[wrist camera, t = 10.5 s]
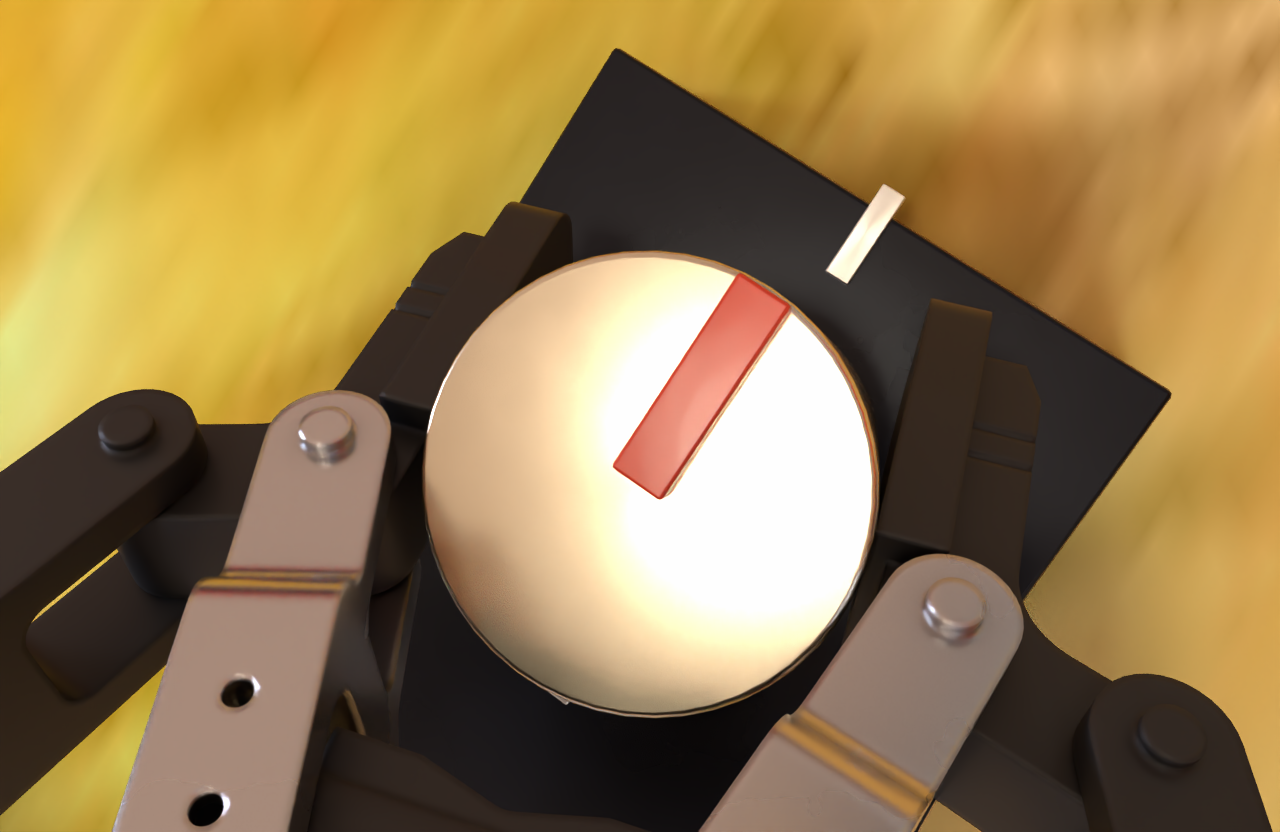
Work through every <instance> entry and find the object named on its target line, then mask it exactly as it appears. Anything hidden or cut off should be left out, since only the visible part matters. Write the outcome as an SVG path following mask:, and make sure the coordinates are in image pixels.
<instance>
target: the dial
mask: <svg viewBox="0 0 1280 832" xmlns="http://www.w3.org/2000/svg"><path fill="white" fill-rule="evenodd" d="M421 497H422V504H423V512H424V520H425V527H426V530H427V534H428V538H429V542H430V546H431V550H432V554H433V556H434V559H435V562H436V564H437V567H438V569H439V572H440V574H441V577H442V579H443V582H444V584H445V585H446V587H447V589H448V591H449V593H450V595H451V597H452V598H453V600H454V602H455V604H456V606H457V607H458V609H459V610H460V612H461V613H462V615H463V616H464V617H465V619H466V620H467V622H468V623H469V624H470V626H471V627H472V629H473V630H474V631H475V632H476V633H477V635H478V636H479V637H480V638H481V639H482V640H483V641H484V642H485V643H486V644H487V645H488V647H489V648H490V649H491V650H492V651H493V652H494V653H495V654H496V655H497V656H499V657H500V658H501V659H502V660H503V661H504V662H506V663H507V664H508V665H509V666H510V667H512V668H513V669H514V670H515V671H516V672H518V673H519V674H521V675H522V676H524V677H525V678H527V679H528V680H530V681H531V682H533V683H534V684H536V685H537V686H539V687H541V688H542V689H544V690H546V691H548V692H550V693H552V694H555V695H557V696H559V697H561V698H563V699H565V700H567V701H569V702H572V703H575V704H578V705H581V706H584V707H587V708H590V709H593V710H596V711H601V712H606V713H611V714H616V715H621V716H627V717H643V718H666V717H680V716H689V715H693V714H698V713H703V712H708V711H712V710H716V709H719V708H722V707H725V706H728V705H730V704H733V703H736V702H739V701H742V700H744V699H746V698H748V697H750V696H752V695H754V694H756V693H758V692H760V691H762V690H764V689H765V688H767V687H769V686H771V685H773V684H774V683H775V682H777V681H778V680H780V679H781V678H782V677H784V676H785V675H787V674H788V673H790V672H791V671H792V670H794V669H795V668H796V667H797V666H799V665H800V664H801V663H802V662H803V661H804V660H805V659H806V658H807V657H808V656H809V655H810V654H811V653H812V652H814V651H815V650H816V649H817V648H818V647H819V646H820V644H821V643H822V642H823V641H824V639H825V638H826V637H827V636H828V634H829V633H830V632H831V631H832V630H833V628H834V627H835V626H836V625H837V623H838V622H839V620H840V619H841V617H842V615H843V614H844V612H845V610H846V609H847V607H848V605H849V604H850V602H851V600H852V599H853V597H854V595H855V593H856V591H857V588H858V586H859V584H860V581H861V579H862V577H863V574H864V572H865V570H866V568H867V564H868V561H869V557H870V553H871V550H872V546H873V543H874V539H875V534H876V527H877V520H878V513H879V506H880V442H879V435H878V427H877V421H876V418H875V414H874V410H873V407H872V403H871V401H870V398H869V396H868V393H867V391H866V389H865V386H864V384H863V382H862V380H861V379H860V377H859V375H858V373H857V372H856V370H855V368H854V367H853V365H852V364H851V362H850V361H849V360H848V359H847V357H846V356H845V355H844V353H843V352H842V351H841V350H840V348H839V347H838V346H837V345H836V344H834V343H833V342H832V341H831V340H830V339H829V338H828V337H827V336H826V335H825V334H824V333H823V332H822V331H821V330H820V329H819V328H818V327H817V326H816V325H815V324H814V323H813V322H812V321H811V320H810V319H809V318H808V317H807V316H806V315H805V314H804V313H803V312H802V311H801V310H800V309H799V308H798V307H797V306H796V305H794V304H793V303H792V302H790V301H789V300H788V299H786V298H785V297H784V296H782V295H781V294H780V293H778V292H777V291H776V290H774V289H773V288H772V287H770V286H768V285H766V284H765V283H763V282H761V281H759V280H757V279H756V278H754V277H752V276H750V275H748V274H747V273H745V272H742V271H740V270H737V269H735V268H732V267H730V266H727V265H725V264H722V263H720V262H717V261H714V260H710V259H706V258H702V257H698V256H694V255H690V254H685V253H676V252H667V251H658V250H648V251H623V252H617V253H611V254H604V255H598V256H594V257H591V258H587V259H584V260H581V261H577V262H574V263H571V264H568V265H565V266H563V267H561V268H559V269H557V270H554V271H552V272H550V273H548V274H546V275H543V276H541V277H539V278H538V279H536V280H535V281H533V282H531V283H530V284H528V285H527V286H525V287H523V288H522V289H520V290H519V291H517V292H516V293H514V294H513V295H512V296H511V297H509V298H508V299H507V300H506V301H505V302H503V303H502V304H501V305H500V306H499V307H497V308H496V309H495V310H494V311H493V312H492V313H491V314H490V315H489V316H488V317H487V318H486V319H485V320H484V321H483V322H482V323H481V325H480V326H479V327H478V328H477V329H476V330H475V331H474V332H473V333H472V335H471V336H470V338H469V339H468V340H467V342H466V343H465V345H464V346H463V347H462V349H461V350H460V352H459V353H458V354H457V356H456V357H455V359H454V361H453V363H452V365H451V367H450V369H449V370H448V372H447V374H446V376H445V378H444V380H443V382H442V384H441V387H440V389H439V392H438V394H437V397H436V400H435V402H434V405H433V407H432V411H431V415H430V419H429V423H428V427H427V431H426V435H425V440H424V449H423V457H422V465H421Z"/></svg>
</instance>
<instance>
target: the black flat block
mask: <svg viewBox="0 0 1280 832" xmlns="http://www.w3.org/2000/svg"><path fill="white" fill-rule="evenodd" d="M905 198H906V197H905V196H904V195H902V194H900V193H899V192H897V191H896V190H894V189H892V188H891V187H889V186H887V185H886V184H883V185H882V186H881V188H880V189H879V191H878V192H877V194H876V195H875V197H874V198H873V200H872V201H871V203H870V204H869V203H868V202H866V201H864V200H863V199H861V198H859V197H858V196H856V195H855V194H853V193H851V192H850V191H848V190H847V189H845V188H843V187H842V186H840V185H839V184H837V183H835V182H834V181H832V180H831V179H829V178H827V177H826V176H824V175H822V174H821V173H819V172H818V171H816V170H814V169H813V168H811V167H810V166H808V165H806V164H805V163H803V162H802V161H800V160H798V159H797V158H795V157H793V156H792V155H790V154H789V153H787V152H785V151H784V150H782V149H781V148H779V147H777V146H776V145H774V144H773V143H771V142H769V141H768V140H766V139H765V138H763V137H761V136H760V135H758V134H756V133H755V132H753V131H752V130H750V129H748V128H747V127H745V126H744V125H742V124H740V123H739V122H737V121H736V120H734V119H732V118H731V117H729V116H728V115H726V114H724V113H723V112H721V111H719V110H718V109H716V108H715V107H713V106H711V105H710V104H708V103H707V102H705V101H703V100H702V99H700V98H699V97H697V96H695V95H694V94H692V93H690V92H689V91H687V90H686V89H684V88H682V87H681V86H679V85H678V84H676V83H674V82H673V81H671V80H670V79H668V78H666V77H665V76H663V75H662V74H660V73H658V72H657V71H655V70H653V69H652V68H650V67H649V66H647V65H645V64H644V63H642V62H641V61H639V60H637V59H636V58H634V57H633V56H631V55H629V54H628V53H626V52H624V51H623V50H621V49H618V48H615V49H614V50H613V51H612V53H611V55H610V56H609V58H608V59H607V61H606V63H605V64H604V66H603V68H602V69H601V71H600V73H599V74H598V76H597V77H596V79H595V81H594V82H593V84H592V86H591V87H590V89H589V90H588V92H587V94H586V95H585V97H584V99H583V100H582V102H581V103H580V105H579V107H578V108H577V110H576V112H575V113H574V115H573V116H572V118H571V120H570V121H569V123H568V125H567V126H566V128H565V129H564V131H563V133H562V134H561V136H560V138H559V139H558V141H557V142H556V144H555V146H554V147H553V149H552V151H551V152H550V154H549V155H548V157H547V159H546V160H545V162H544V164H543V165H542V167H541V168H540V170H539V172H538V173H537V175H536V177H535V178H534V180H533V182H532V183H531V185H530V186H529V188H528V190H527V191H526V193H525V195H524V196H523V198H522V199H521V201H520V203H522V204H526V205H531V206H535V207H539V208H544V209H548V210H552V211H557V212H561V213H566V214H568V215H569V217H570V219H571V223H572V239H573V263H574V262H577V261H581V260H584V259H587V258H591V257H594V256H598V255H604V254H611V253H617V252H623V251H648V250H658V251H667V252H676V253H685V254H690V255H694V256H698V257H702V258H706V259H710V260H714V261H717V262H720V263H722V264H725V265H727V266H730V267H732V268H735V269H737V270H740V271H742V272H745V273H747V274H748V275H750V276H752V277H754V278H756V279H757V280H759V281H761V282H763V283H765V284H766V285H768V286H770V287H772V288H773V289H774V290H776V291H777V292H778V293H780V294H781V295H782V296H784V297H785V298H786V299H788V300H789V301H790V302H792V303H793V304H794V305H796V306H797V307H798V308H799V309H800V310H801V311H802V312H803V313H804V314H805V315H806V316H807V317H808V318H809V319H810V320H811V321H812V322H813V323H814V324H815V325H816V326H817V327H818V328H819V329H820V330H821V331H822V332H823V333H824V334H825V335H826V336H827V337H828V338H829V339H830V340H831V341H832V342H833V343H834V344H836V345H837V346H838V347H839V348H840V350H841V351H842V352H843V353H844V355H845V356H846V357H847V359H848V360H849V361H850V362H851V364H852V365H853V367H854V368H855V370H856V372H857V373H858V375H859V377H860V379H861V380H862V382H863V384H864V386H865V389H866V391H867V393H868V396H869V398H870V401H871V403H872V407H873V410H874V414H875V418H876V421H877V427H878V435H879V442H880V484H881V480H882V476H883V472H884V467H885V463H886V459H887V455H888V451H889V447H890V443H891V439H892V435H893V431H894V427H895V423H896V419H897V415H898V411H899V407H900V404H901V400H902V396H903V393H904V389H905V386H906V382H907V379H908V375H909V372H910V368H911V365H912V361H913V358H914V354H915V351H916V347H917V344H918V340H919V337H920V333H921V330H922V326H923V323H924V319H925V316H926V312H927V309H928V305H929V302H930V299H931V298H933V299H938V300H942V301H947V302H951V303H955V304H960V305H964V306H968V307H973V308H977V309H982V310H986V311H990V312H992V321H991V327H990V332H989V338H988V343H987V349H986V355H985V356H987V357H991V358H996V359H1000V360H1004V361H1008V362H1013V363H1017V364H1021V365H1025V366H1027V368H1028V370H1029V373H1030V375H1031V378H1032V380H1033V383H1034V385H1035V388H1036V390H1037V393H1038V395H1039V398H1040V400H1041V407H1040V415H1039V423H1038V431H1037V438H1036V441H1035V444H1036V446H1035V454H1034V462H1033V467H1032V471H1031V473H1032V477H1031V485H1030V493H1029V501H1028V509H1027V516H1026V524H1025V532H1024V540H1023V548H1022V555H1021V563H1020V571H1019V588H1020V594H1021V598H1022V601H1024V600H1025V598H1026V597H1027V595H1028V594H1029V593H1030V591H1031V590H1032V589H1033V587H1034V586H1035V584H1036V583H1037V582H1038V580H1039V579H1040V578H1041V576H1042V575H1043V573H1044V572H1045V571H1046V569H1047V568H1048V567H1049V565H1050V564H1051V562H1052V561H1053V560H1054V558H1055V557H1056V555H1057V554H1058V553H1059V551H1060V550H1061V549H1062V547H1063V546H1064V544H1065V543H1066V542H1067V540H1068V539H1069V538H1070V536H1071V535H1072V533H1073V532H1074V531H1075V529H1076V528H1077V527H1078V525H1079V524H1080V522H1081V521H1082V520H1083V518H1084V517H1085V515H1086V514H1087V513H1088V511H1089V510H1090V509H1091V507H1092V506H1093V504H1094V503H1095V502H1096V500H1097V499H1098V498H1099V496H1100V495H1101V493H1102V492H1103V491H1104V489H1105V488H1106V487H1107V485H1108V484H1109V482H1110V481H1111V480H1112V478H1113V477H1114V476H1115V474H1116V473H1117V471H1118V470H1119V469H1120V467H1121V466H1122V464H1123V463H1124V462H1125V460H1126V459H1127V458H1128V456H1129V455H1130V453H1131V452H1132V451H1133V449H1134V448H1135V447H1136V445H1137V444H1138V442H1139V441H1140V440H1141V438H1142V437H1143V436H1144V434H1145V433H1146V431H1147V430H1148V429H1149V427H1150V426H1151V424H1152V423H1153V422H1154V420H1155V419H1156V418H1157V416H1158V415H1159V413H1160V412H1161V411H1162V409H1163V408H1164V407H1165V405H1166V404H1167V402H1168V401H1169V400H1170V398H1171V394H1172V393H1171V392H1170V391H1169V389H1167V388H1165V387H1164V386H1162V385H1160V384H1159V383H1157V382H1156V381H1154V380H1152V379H1151V378H1149V377H1148V376H1146V375H1144V374H1143V373H1141V372H1140V371H1138V370H1136V369H1135V368H1133V367H1132V366H1130V365H1128V364H1127V363H1125V362H1123V361H1122V360H1120V359H1119V358H1117V357H1115V356H1114V355H1112V354H1111V353H1109V352H1107V351H1106V350H1104V349H1103V348H1101V347H1099V346H1098V345H1096V344H1094V343H1093V342H1091V341H1090V340H1088V339H1086V338H1085V337H1083V336H1082V335H1080V334H1078V333H1077V332H1075V331H1074V330H1072V329H1070V328H1069V327H1067V326H1066V325H1064V324H1062V323H1061V322H1059V321H1057V320H1056V319H1054V318H1053V317H1051V316H1049V315H1048V314H1046V313H1045V312H1043V311H1041V310H1040V309H1038V308H1037V307H1035V306H1033V305H1032V304H1030V303H1028V302H1027V301H1025V300H1024V299H1022V298H1020V297H1019V296H1017V295H1016V294H1014V293H1012V292H1011V291H1009V290H1008V289H1006V288H1004V287H1003V286H1001V285H1000V284H998V283H996V282H995V281H993V280H991V279H990V278H988V277H987V276H985V275H983V274H982V273H980V272H979V271H977V270H975V269H974V268H972V267H971V266H969V265H967V264H966V263H964V262H963V261H961V260H959V259H958V258H956V257H954V256H953V255H951V254H950V253H948V252H946V251H945V250H943V249H942V248H940V247H938V246H937V245H935V244H934V243H932V242H930V241H929V240H927V239H925V238H924V237H922V236H921V235H919V234H917V233H916V232H914V231H913V230H911V229H909V228H908V227H906V226H905V225H903V224H901V223H900V222H898V221H897V220H895V219H893V217H894V216H895V214H896V213H897V211H898V210H899V208H900V207H901V205H902V204H903V202H904V201H905ZM419 559H420V565H421V578H420V583H419V589H418V595H417V601H416V607H415V613H414V619H413V625H412V631H411V637H410V643H409V649H408V655H407V661H406V666H405V672H404V678H403V684H402V690H401V696H400V703H399V715H398V730H399V747H401V748H404V749H407V750H409V751H412V752H415V753H418V754H421V755H423V756H425V757H426V758H428V759H429V760H431V761H432V762H434V763H435V764H436V765H438V766H439V767H441V768H442V769H444V770H445V771H447V772H448V773H450V774H451V775H452V776H454V777H455V778H457V779H458V780H460V781H461V782H463V783H464V784H465V785H467V786H468V787H470V788H471V789H473V790H474V791H476V792H477V793H479V794H480V795H481V796H483V797H484V798H486V799H487V800H489V801H490V802H492V803H493V804H495V805H496V806H498V807H500V808H502V809H505V810H508V811H514V812H527V813H542V814H557V815H572V816H587V817H602V818H611V819H614V820H617V821H620V822H623V823H626V824H629V825H632V826H635V827H638V828H641V829H644V830H647V831H650V832H699V830H700V829H701V827H702V826H703V824H704V823H705V822H706V820H707V819H708V817H709V816H710V814H711V813H712V812H713V810H714V809H715V807H716V806H717V805H718V803H719V802H720V800H721V799H722V797H723V796H724V795H725V793H726V792H727V790H728V789H729V787H730V786H731V785H732V783H733V782H734V780H735V779H736V778H737V776H738V775H739V773H740V772H741V770H742V769H743V768H744V766H745V765H746V763H747V762H748V761H749V759H750V758H751V756H752V755H753V753H754V752H755V751H756V749H757V748H758V746H759V745H760V743H761V742H762V741H763V739H764V738H765V737H766V735H767V734H768V732H769V731H770V730H771V729H772V727H773V726H774V725H775V724H776V723H777V722H778V721H779V720H780V719H781V718H782V717H783V716H784V715H786V714H789V715H792V714H793V713H794V712H795V711H796V710H797V709H798V708H799V707H800V705H801V704H802V703H803V701H804V700H805V699H806V697H807V696H808V694H809V693H810V691H811V690H812V688H813V687H814V686H815V684H816V683H817V681H818V680H819V678H820V677H821V676H822V674H823V673H824V671H825V670H826V668H827V667H828V665H829V664H830V663H831V661H832V660H833V658H834V657H835V655H836V654H837V653H838V651H839V650H840V648H841V645H842V640H843V636H844V632H845V628H846V624H847V620H848V616H849V612H850V607H851V603H852V600H851V602H850V604H849V605H848V607H847V609H846V610H845V612H844V614H843V615H842V617H841V619H840V620H839V622H838V623H837V625H836V626H835V627H834V628H833V630H832V631H831V632H830V633H829V634H828V636H827V637H826V638H825V639H824V641H823V642H822V643H821V644H820V646H819V647H818V648H817V649H816V650H815V651H814V652H812V653H811V654H810V655H809V656H808V657H807V658H806V659H805V660H804V661H803V662H802V663H801V664H800V665H799V666H797V667H796V668H795V669H794V670H792V671H791V672H790V673H788V674H787V675H785V676H784V677H782V678H781V679H780V680H778V681H777V682H775V683H774V684H773V685H771V686H769V687H767V688H765V689H764V690H762V691H760V692H758V693H756V694H754V695H752V696H750V697H748V698H746V699H744V700H742V701H739V702H736V703H733V704H730V705H728V706H725V707H722V708H719V709H716V710H712V711H708V712H703V713H698V714H693V715H689V716H680V717H666V718H643V717H627V716H621V715H616V714H611V713H606V712H601V711H596V710H593V709H590V708H587V707H584V706H581V705H578V704H575V703H572V702H569V701H567V700H565V699H563V698H561V697H559V696H557V695H555V694H552V693H550V692H548V691H546V690H544V689H542V688H541V687H539V686H537V685H536V684H534V683H533V682H531V681H530V680H528V679H527V678H525V677H524V676H522V675H521V674H519V673H518V672H516V671H515V670H514V669H513V668H512V667H510V666H509V665H508V664H507V663H506V662H504V661H503V660H502V659H501V658H500V657H499V656H497V655H496V654H495V653H494V652H493V651H492V650H491V649H490V648H489V647H488V645H487V644H486V643H485V642H484V641H483V640H482V639H481V638H480V637H479V636H478V635H477V633H476V632H475V631H474V630H473V629H472V627H471V626H470V624H469V623H468V622H467V620H466V619H465V617H464V616H463V615H462V613H461V612H460V610H459V609H458V607H457V606H456V604H455V602H454V600H453V598H452V597H451V595H450V593H449V591H448V589H447V587H446V585H445V584H444V582H443V579H442V577H441V574H440V572H439V569H438V567H437V564H436V562H435V559H434V556H433V554H432V550H431V546H430V542H428V544H427V545H426V547H425V549H424V551H423V552H422V554H421V556H420V558H419Z"/></svg>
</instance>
